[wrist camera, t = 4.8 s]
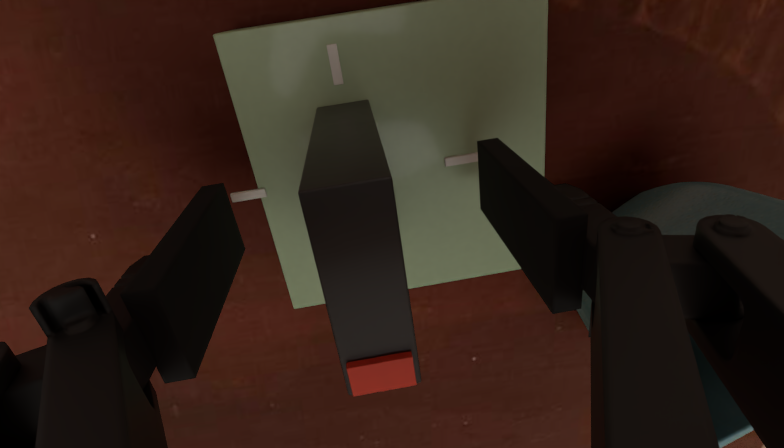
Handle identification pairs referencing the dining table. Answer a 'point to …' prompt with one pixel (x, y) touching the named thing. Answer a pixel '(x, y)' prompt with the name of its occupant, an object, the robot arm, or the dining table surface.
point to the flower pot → (680, 217)
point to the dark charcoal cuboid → (359, 249)
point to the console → (395, 119)
